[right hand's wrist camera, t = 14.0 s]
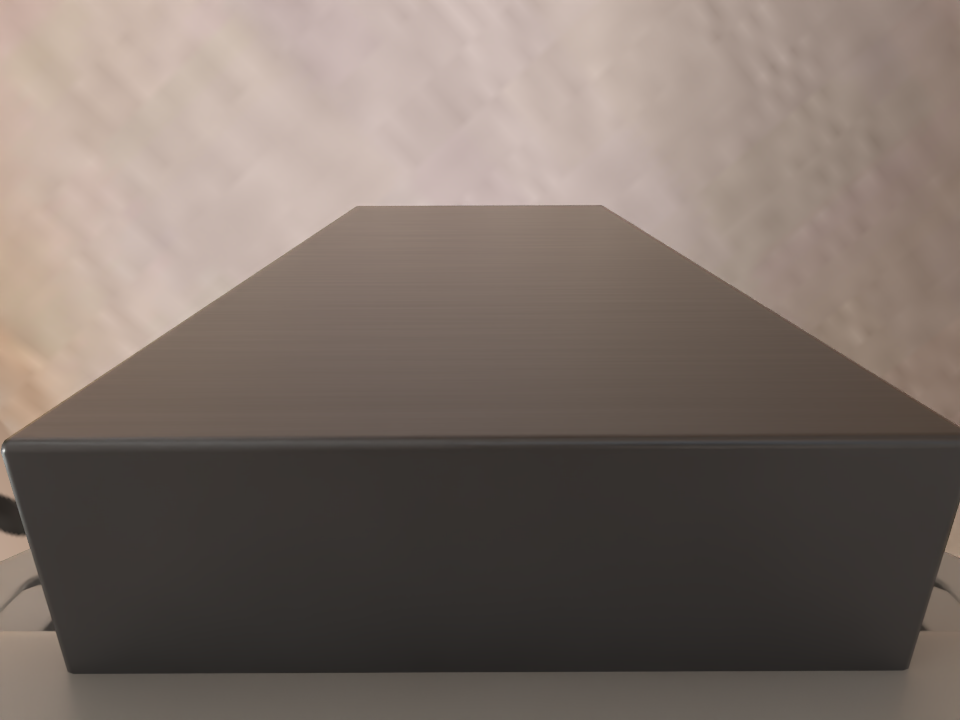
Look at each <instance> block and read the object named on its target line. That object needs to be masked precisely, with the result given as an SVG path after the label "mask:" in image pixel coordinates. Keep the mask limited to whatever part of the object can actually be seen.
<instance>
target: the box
mask: <svg viewBox="0 0 960 720" xmlns="http://www.w3.org/2000/svg"><path fill="white" fill-rule="evenodd" d="M1 454H2V457H3V460H4V463H5V467H6V470H7V473H8V477H9V480H10V483H11V487H12V490H13V493H14V496H15V500H16V503H17V506H18V510H19V513H20V516H21V520H22V523H23V526H24V529H25V533H26V536H27V539H28V543H29V546H30V549H31V552H32V556H33V559H34V562H35V566H36V569H37V572H38V576H39V579H40V582H41V585H42V589H43V592H44V595H45V599H46V602H47V605H48V609H49V612H50V615H51V618H52V622H53V625H54V628H55V632H56V635H57V638H58V642H59V645H60V648H61V651H62V655H63V658H64V661H65V665H66V668H67V671H68V672H69V673H72V674H192V673H435V672H678V671H903V670H906V669H908V668H909V665H910V662H911V658H912V655H913V652H914V649H915V645H916V642H917V639H918V636H919V632H920V629H921V626H922V623H923V619H924V616H925V613H926V610H927V606H928V603H929V600H930V597H931V593H932V590H933V587H934V583H935V580H936V577H937V574H938V570H939V567H940V564H941V561H942V557H943V554H944V551H945V548H946V544H947V541H948V538H949V535H950V531H951V528H952V525H953V522H954V518H955V515H956V512H957V509H958V505H959V502H960V427H959V426H957V425H956V424H954V423H952V422H951V421H949V420H947V419H946V418H944V417H943V416H941V415H939V414H938V413H936V412H935V411H933V410H931V409H930V408H928V407H926V406H925V405H923V404H922V403H920V402H918V401H917V400H915V399H914V398H912V397H910V396H909V395H907V394H906V393H904V392H902V391H901V390H899V389H897V388H896V387H894V386H893V385H891V384H889V383H888V382H886V381H885V380H883V379H881V378H880V377H878V376H876V375H875V374H873V373H872V372H870V371H868V370H867V369H865V368H864V367H862V366H860V365H859V364H857V363H856V362H854V361H852V360H851V359H849V358H847V357H846V356H844V355H843V354H841V353H839V352H838V351H836V350H835V349H833V348H831V347H830V346H828V345H826V344H825V343H823V342H822V341H820V340H818V339H817V338H815V337H814V336H812V335H810V334H809V333H807V332H806V331H804V330H802V329H801V328H799V327H797V326H796V325H794V324H793V323H791V322H789V321H788V320H786V319H785V318H783V317H781V316H780V315H778V314H776V313H775V312H773V311H772V310H770V309H768V308H767V307H765V306H764V305H762V304H760V303H759V302H757V301H756V300H754V299H752V298H751V297H749V296H747V295H746V294H744V293H743V292H741V291H739V290H738V289H736V288H735V287H733V286H731V285H730V284H728V283H726V282H725V281H723V280H722V279H720V278H718V277H717V276H715V275H714V274H712V273H710V272H709V271H707V270H706V269H704V268H702V267H701V266H699V265H697V264H696V263H694V262H693V261H691V260H689V259H688V258H686V257H685V256H683V255H681V254H680V253H678V252H676V251H675V250H673V249H672V248H670V247H668V246H667V245H665V244H664V243H662V242H660V241H659V240H657V239H656V238H654V237H652V236H651V235H649V234H647V233H646V232H644V231H643V230H641V229H639V228H638V227H636V226H635V225H633V224H631V223H630V222H628V221H626V220H625V219H623V218H622V217H620V216H618V215H617V214H615V213H614V212H612V211H610V210H609V209H607V208H606V207H604V206H602V205H539V206H357V207H355V208H353V209H352V210H350V211H349V212H347V213H346V214H344V215H343V216H341V217H340V218H338V219H337V220H335V221H334V222H332V223H331V224H329V225H328V226H326V227H325V228H323V229H322V230H320V231H319V232H317V233H316V234H314V235H313V236H311V237H310V238H308V239H307V240H305V241H304V242H302V243H301V244H299V245H298V246H296V247H295V248H293V249H292V250H290V251H289V252H287V253H286V254H284V255H283V256H281V257H280V258H278V259H277V260H275V261H274V262H272V263H271V264H269V265H268V266H266V267H265V268H263V269H262V270H260V271H259V272H257V273H256V274H254V275H253V276H251V277H250V278H248V279H247V280H245V281H244V282H242V283H241V284H239V285H238V286H236V287H235V288H233V289H232V290H230V291H229V292H227V293H226V294H224V295H223V296H221V297H220V298H218V299H216V300H215V301H213V302H212V303H210V304H209V305H207V306H206V307H204V308H203V309H201V310H200V311H198V312H197V313H195V314H194V315H192V316H191V317H189V318H188V319H186V320H185V321H183V322H182V323H180V324H179V325H177V326H176V327H174V328H173V329H171V330H170V331H168V332H167V333H165V334H164V335H162V336H161V337H159V338H158V339H156V340H155V341H153V342H152V343H150V344H149V345H147V346H146V347H144V348H143V349H141V350H140V351H138V352H137V353H135V354H134V355H132V356H131V357H129V358H128V359H126V360H125V361H123V362H122V363H120V364H119V365H117V366H116V367H114V368H113V369H111V370H110V371H108V372H107V373H105V374H104V375H102V376H101V377H99V378H98V379H96V380H95V381H93V382H92V383H90V384H89V385H87V386H86V387H84V388H83V389H81V390H80V391H78V392H77V393H75V394H74V395H72V396H71V397H69V398H68V399H66V400H65V401H63V402H62V403H60V404H59V405H57V406H56V407H54V408H53V409H51V410H50V411H48V412H47V413H45V414H44V415H42V416H41V417H39V418H38V419H36V420H34V421H33V422H31V423H30V424H28V425H27V426H25V427H24V428H22V429H21V430H19V431H18V432H16V433H15V434H13V435H12V436H10V437H9V438H7V439H6V440H5V441H4V442H3V444H2V449H1Z"/></svg>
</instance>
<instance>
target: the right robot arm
mask: <svg viewBox="0 0 960 720" xmlns="http://www.w3.org/2000/svg"><path fill="white" fill-rule="evenodd" d="M0 720H960V558H958V557H955V556H953V555H951V554H949V553H946V552H944V554H943V557H942V561H941V564H940V567H939V570H938V574H937V577H936V580H935V583H934V587H933V590H932V593H931V597H930V600H929V603H928V606H927V610H926V613H925V616H924V619H923V623H922V626H921V629H920V632H919V636H918V639H917V642H916V645H915V649H914V652H913V655H912V658H911V662H910V665H909V668H908V669H906V670H903V671H678V672H435V673H192V674H72V673H69V672H68V671H67V668H66V665H65V661H64V658H63V655H62V651H61V648H60V645H59V642H58V638H57V635H56V632H55V628H54V625H53V622H52V618H51V615H50V612H49V609H48V605H47V602H46V599H45V595H44V592H43V589H42V585H41V582H40V579H39V576H38V572H37V569H36V566H35V562H34V559H33V556H32V552H31V549H28V550H26V551H24V552H22V553H19V554H17V555H15V556H12V557H10V558H8V559H6V560H3V561H1V562H0Z"/></svg>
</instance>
